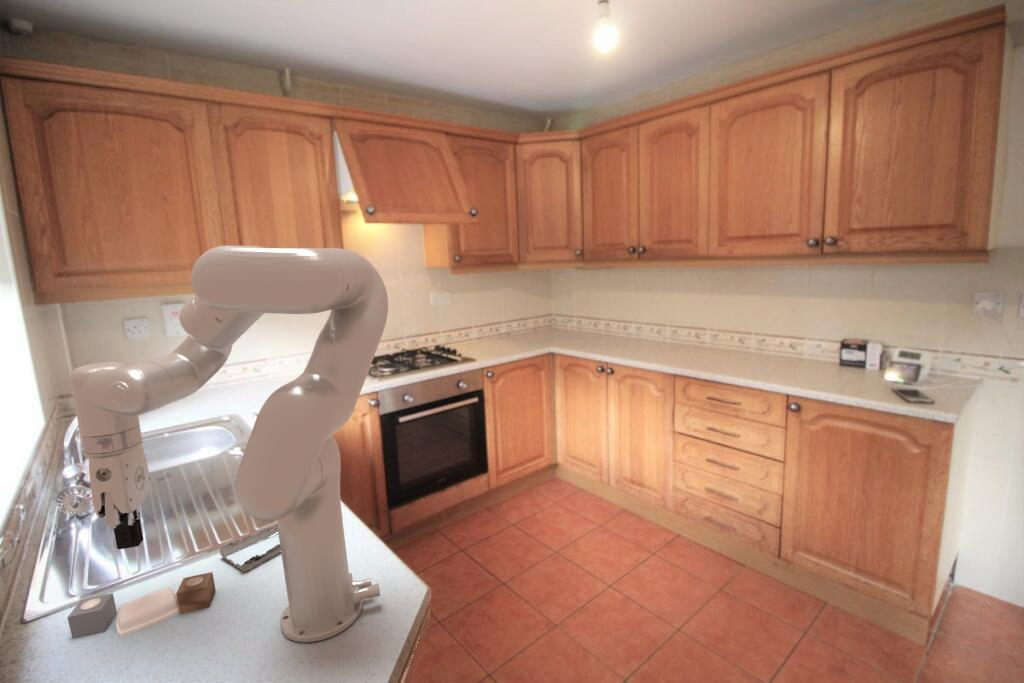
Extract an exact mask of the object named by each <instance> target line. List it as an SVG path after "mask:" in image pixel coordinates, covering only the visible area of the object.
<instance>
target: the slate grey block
mask: <svg viewBox="0 0 1024 683" xmlns="http://www.w3.org/2000/svg"><path fill="white" fill-rule="evenodd" d="M117 614H118V610H117V607H116V600H115V597H114V593H113V592H112V593H108V594H102V595H97V596H93V597H87V598H83V599H81V600H79V602H78V603H77V604H76V606H75V607H74V608H73V610H72V611H71V612H70V613H69V615H68V616H67V622H68V626H69V631H70V634H71V639H72V640H73V639H77V638H82V637H88V636H92V635H96V634H100V633H106V632H107V630H108V628H109V627H110V625H112V623H113V621H114V620H115V619H116V617H117Z"/></svg>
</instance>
